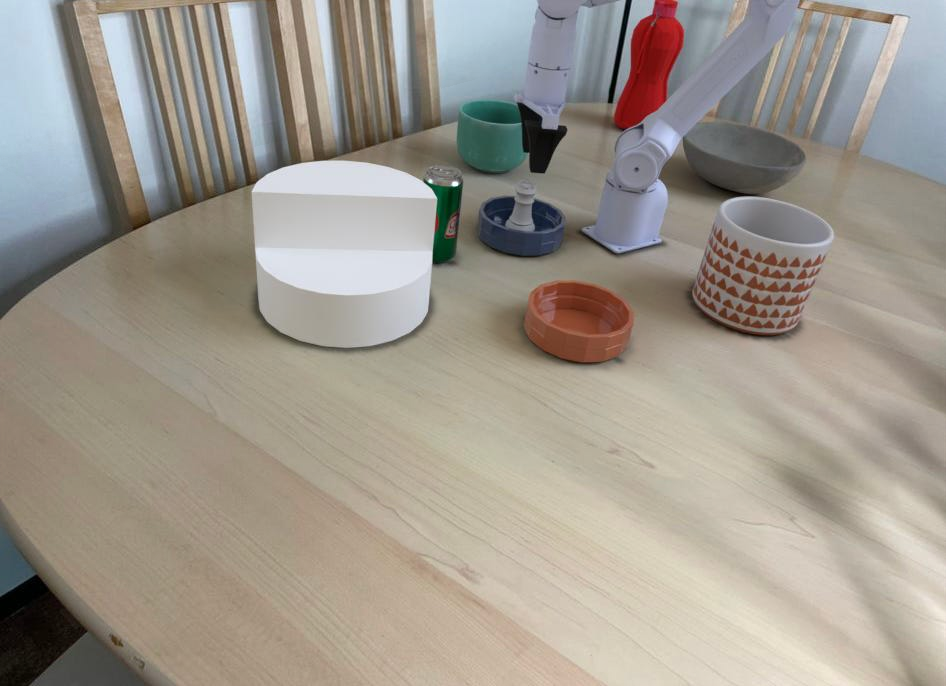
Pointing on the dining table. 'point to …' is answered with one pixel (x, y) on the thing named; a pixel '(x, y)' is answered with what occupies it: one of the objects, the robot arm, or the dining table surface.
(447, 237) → the soda can
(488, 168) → the mug
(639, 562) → the dining table surface
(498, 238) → the slate bowl
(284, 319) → the stepped white cylinder
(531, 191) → the rook chess piece
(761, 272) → the planter
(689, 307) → the dining table surface
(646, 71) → the water bottle
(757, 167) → the bowl
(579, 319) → the terracotta bowl
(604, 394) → the dining table surface
